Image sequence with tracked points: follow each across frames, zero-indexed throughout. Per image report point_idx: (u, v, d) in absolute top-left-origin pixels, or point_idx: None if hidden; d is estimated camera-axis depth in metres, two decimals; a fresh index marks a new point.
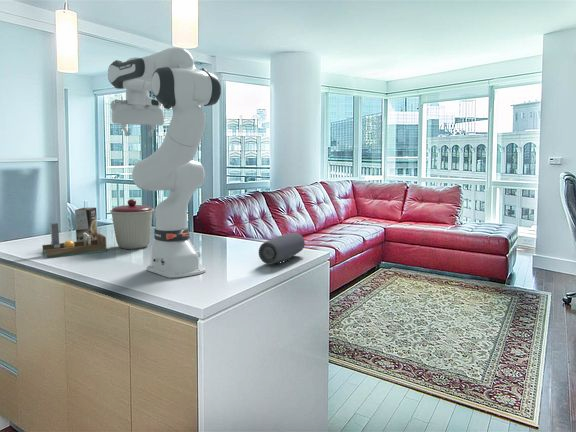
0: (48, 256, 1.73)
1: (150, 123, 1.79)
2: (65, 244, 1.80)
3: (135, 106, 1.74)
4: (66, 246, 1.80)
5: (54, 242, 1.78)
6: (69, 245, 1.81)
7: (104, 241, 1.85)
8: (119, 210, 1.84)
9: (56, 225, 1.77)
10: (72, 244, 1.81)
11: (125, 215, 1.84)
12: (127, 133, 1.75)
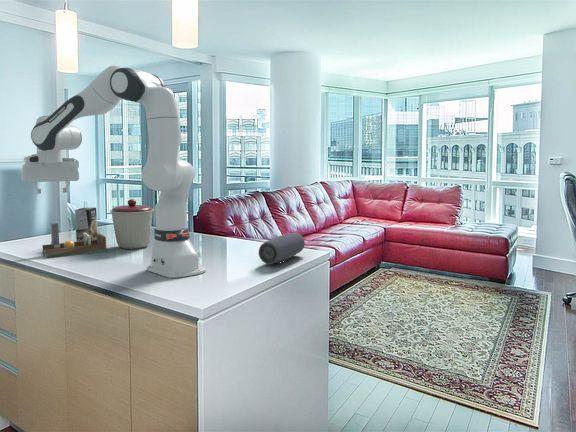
0: (48, 256, 1.73)
1: None
2: (65, 244, 1.80)
3: None
4: (66, 246, 1.80)
5: (54, 242, 1.78)
6: (69, 245, 1.81)
7: (104, 241, 1.85)
8: (119, 210, 1.84)
9: (56, 225, 1.77)
10: (72, 244, 1.81)
11: (125, 215, 1.84)
12: None
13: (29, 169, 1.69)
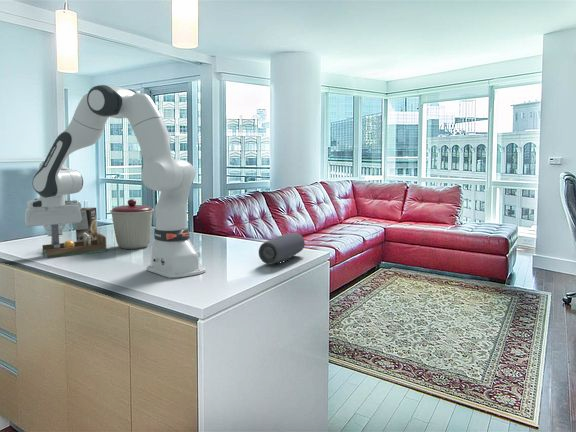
0: (48, 256, 1.73)
1: None
2: (65, 244, 1.80)
3: None
4: (66, 246, 1.80)
5: (54, 242, 1.78)
6: (69, 245, 1.81)
7: (104, 241, 1.85)
8: (119, 210, 1.84)
9: (56, 225, 1.77)
10: (72, 244, 1.81)
11: (125, 215, 1.84)
12: None
13: (32, 214, 1.71)
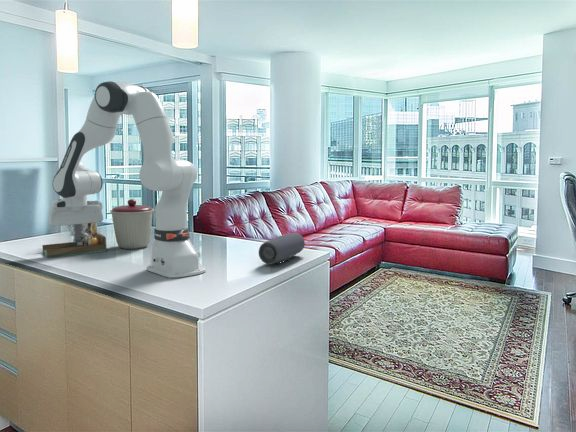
0: (48, 256, 1.73)
1: None
2: None
3: None
4: None
5: (76, 240, 1.83)
6: (94, 244, 1.86)
7: (104, 241, 1.85)
8: (119, 210, 1.84)
9: None
10: (92, 242, 1.86)
11: (125, 215, 1.84)
12: None
13: (56, 214, 1.76)
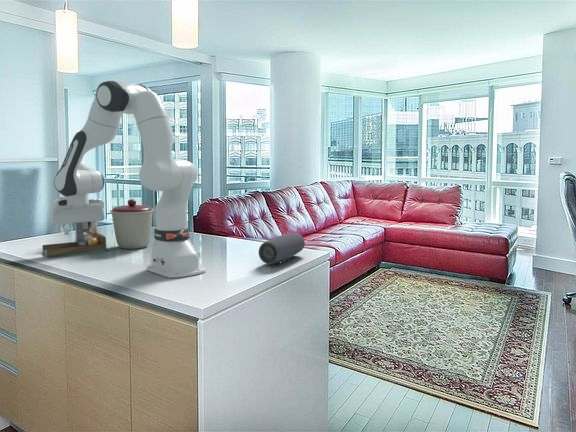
0: (48, 256, 1.73)
1: None
2: None
3: None
4: None
5: (78, 240, 1.83)
6: (94, 244, 1.86)
7: (104, 241, 1.85)
8: (119, 210, 1.84)
9: (80, 223, 1.83)
10: (91, 242, 1.86)
11: (125, 215, 1.84)
12: None
13: (58, 212, 1.77)
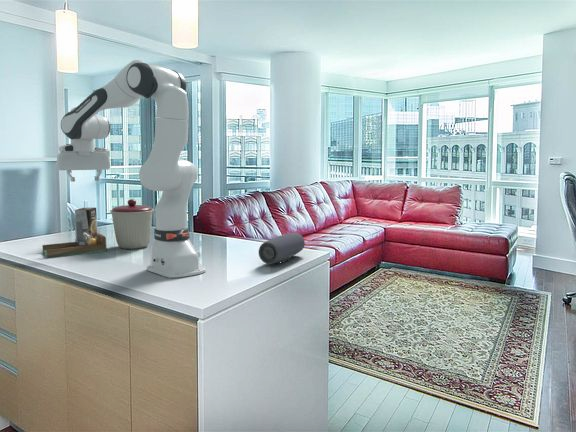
0: (48, 256, 1.73)
1: None
2: None
3: None
4: (95, 244, 1.87)
5: (78, 240, 1.83)
6: (93, 244, 1.86)
7: (104, 241, 1.85)
8: (119, 210, 1.84)
9: (80, 223, 1.83)
10: None
11: (125, 215, 1.84)
12: None
13: (64, 158, 1.77)
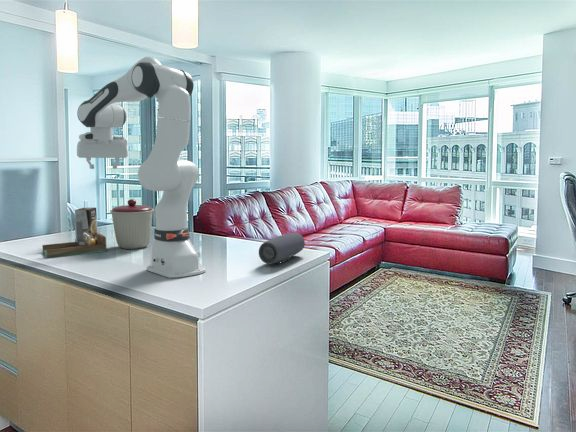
0: (48, 256, 1.73)
1: None
2: None
3: None
4: (94, 243, 1.87)
5: (78, 240, 1.83)
6: (91, 244, 1.86)
7: (104, 241, 1.85)
8: (119, 210, 1.84)
9: (80, 223, 1.83)
10: None
11: (125, 215, 1.84)
12: None
13: (84, 146, 1.83)
